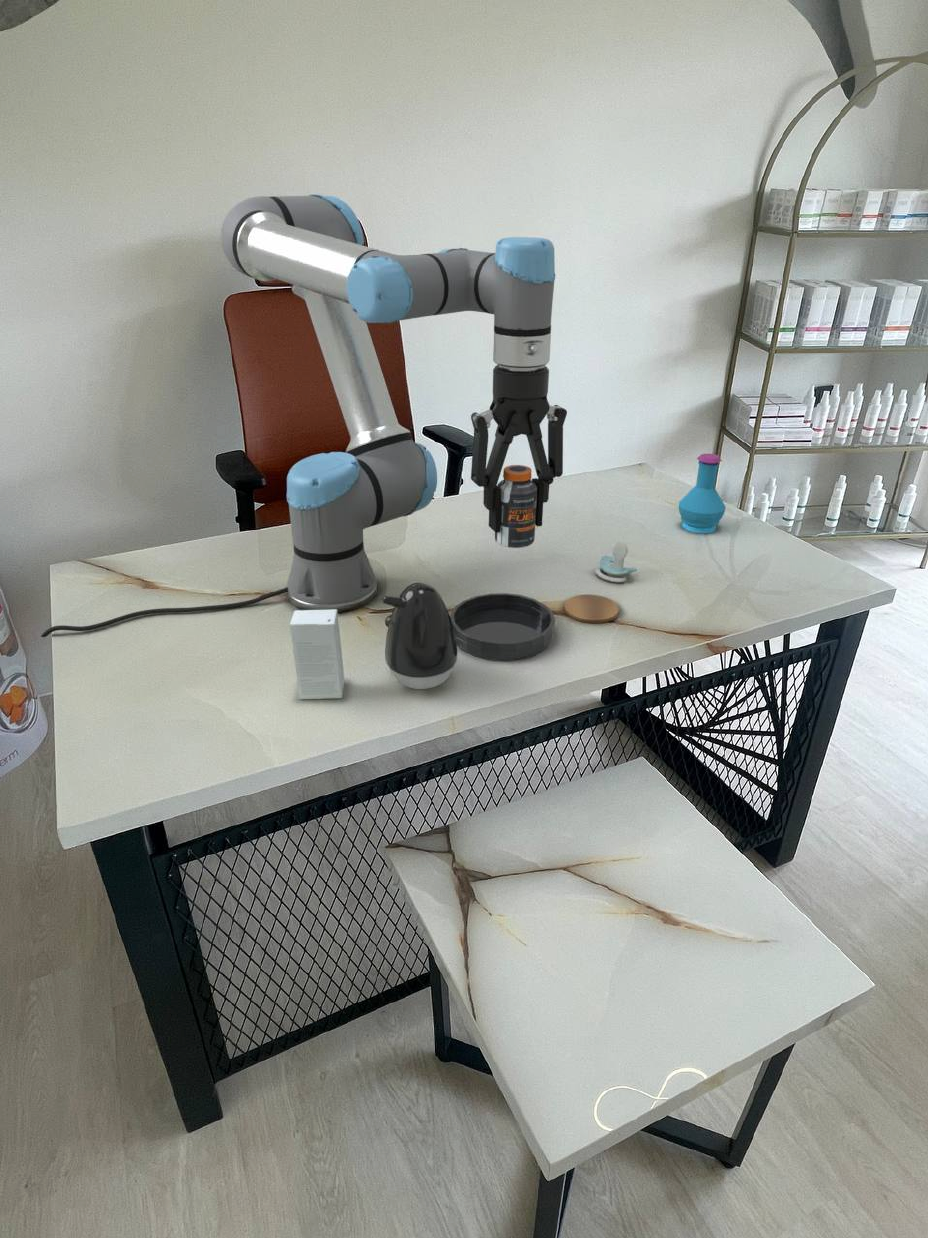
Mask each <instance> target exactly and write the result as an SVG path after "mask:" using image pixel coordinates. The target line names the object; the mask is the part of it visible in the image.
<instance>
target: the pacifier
mask: <svg viewBox="0 0 928 1238" xmlns="http://www.w3.org/2000/svg"><path fill="white" fill-rule="evenodd" d="M628 550H629V549H628V546H627V544H626V543H625V542H622V541H618V542H616V543H615V544H614V545H613V548H612V556H610V555H603V556H601V558H599V566H600V567H598V568H596V569H595V570H594V572H595V574H596V576H598V577H599V578H600V579H602V580H605V581H608V582H611V583H624V582H626V581H627V579H628V578H627V575H628V574H632V573H634V572H637V570H638V567H624V563H625V559H626V557H627V556H628V552H629V551H628ZM603 572H605V573H606V574H607V575H606V574H604V573H603Z"/></svg>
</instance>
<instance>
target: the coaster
mask: <svg viewBox="0 0 928 1238" xmlns="http://www.w3.org/2000/svg"><path fill="white" fill-rule="evenodd" d="M563 610H564V612H565V614H566V615H567V616H568V617H570V618H571V619H573V620H576V621H579V622H583V623H588V624H601V623H602V624H603V623H608V622H610V621H613V620H614V619H616V618H617V617H618V615H619V613H620V608H619V605H618V603H616V602H615V601H614V600H612V599H610V598H608V597H605V596H603V595H597V594H579V595H578V594H577V595H575V596H572V597H570V598H567V600H566V601H565V602H564V604H563Z"/></svg>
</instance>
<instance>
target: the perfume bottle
mask: <svg viewBox="0 0 928 1238" xmlns="http://www.w3.org/2000/svg"><path fill="white" fill-rule="evenodd" d="M696 459H697V460H698V470H697V477H696V481H695V482H696V483H695V486H693V488H692V489H690V491H689V492H687V494H686V495H685V496H683V498H681V499H680V500H679V502H678V511H679V515H680V520H681V521H682V523H681V525H682V528H683V530H686V531H688V532H690V533H695V534H710V533H714V532H715V531H716V529H717V527H716V526H717V525H718V524H719V523H720V521H721V519H722V518H723V516H724V515H725V512H726V505H725V503H724V501H723V500H722V497H721V496H720V494H719V493H718V491H717V489H716V487H715V485H716V479H717V473H718V468H719V465H720V463H721V462H722V459H721V457H720V456H719V455H718V454H716V453H715V454H714V453H702V454H700V455H699V456H698V457H697V458H696Z"/></svg>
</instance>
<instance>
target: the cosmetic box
mask: <svg viewBox="0 0 928 1238" xmlns="http://www.w3.org/2000/svg"><path fill="white" fill-rule="evenodd" d="M289 631H290V638H291V646H292V652H293V653H292V654H293V660H294V669H295V676H296V685H297V693H298V699H300V700H319V699H321V700H322V699H323V700H325V699H342V698H343V692H344V686H345V673H344V662H343V653H342V652H343V651H342V643H341V632H340V622H339V612H338V611H337V609H332V610H303V609H297V610H296V609H295V610H294V611H293V614H292V616H291V619H290V622H289Z"/></svg>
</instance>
